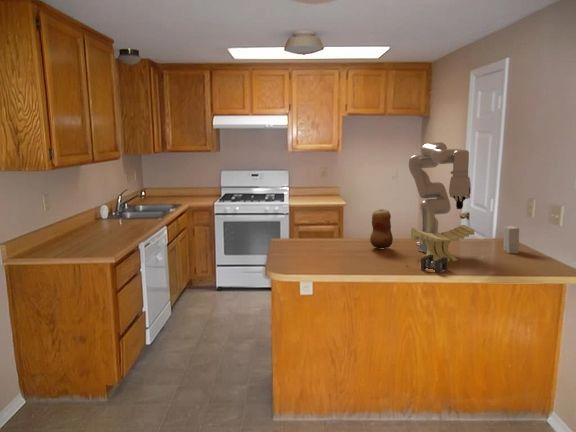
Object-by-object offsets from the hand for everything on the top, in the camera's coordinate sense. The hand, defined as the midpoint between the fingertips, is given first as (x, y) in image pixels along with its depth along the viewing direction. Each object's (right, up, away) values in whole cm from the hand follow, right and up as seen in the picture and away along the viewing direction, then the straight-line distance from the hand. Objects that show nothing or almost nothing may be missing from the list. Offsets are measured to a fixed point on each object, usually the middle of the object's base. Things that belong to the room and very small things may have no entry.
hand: (459, 208), depth 240 cm
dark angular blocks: (-11, -32, -4) cm, 35 cm away
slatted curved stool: (-3, -28, +19) cm, 34 cm away
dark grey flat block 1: (-17, -32, +1) cm, 36 cm away
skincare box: (+40, -25, +27) cm, 54 cm away
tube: (-15, -32, -1) cm, 35 cm away
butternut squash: (-32, -25, +44) cm, 60 cm away
